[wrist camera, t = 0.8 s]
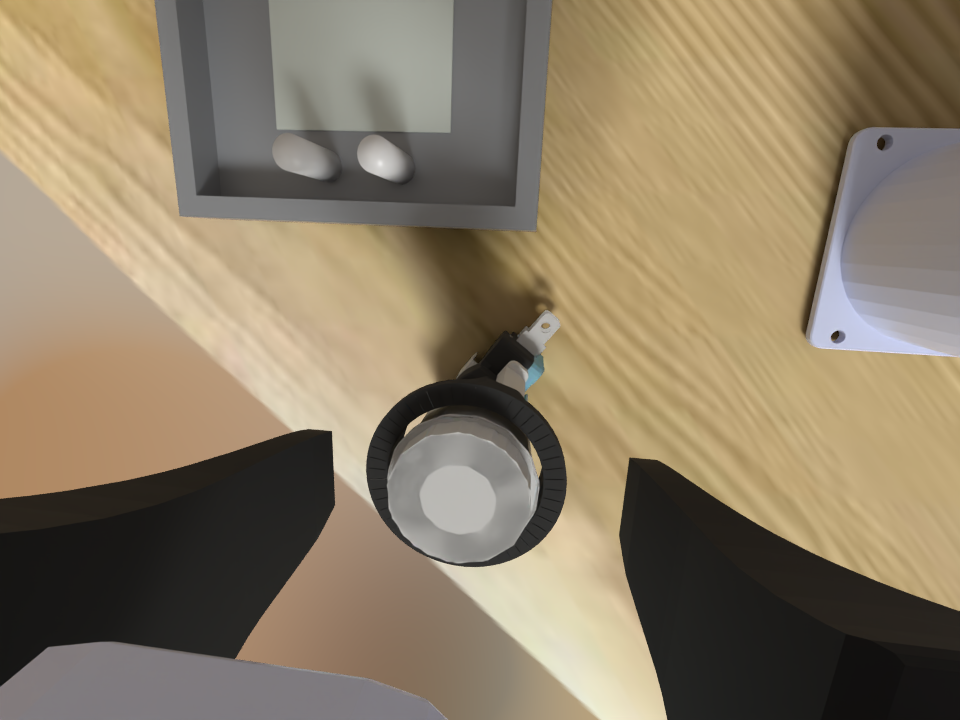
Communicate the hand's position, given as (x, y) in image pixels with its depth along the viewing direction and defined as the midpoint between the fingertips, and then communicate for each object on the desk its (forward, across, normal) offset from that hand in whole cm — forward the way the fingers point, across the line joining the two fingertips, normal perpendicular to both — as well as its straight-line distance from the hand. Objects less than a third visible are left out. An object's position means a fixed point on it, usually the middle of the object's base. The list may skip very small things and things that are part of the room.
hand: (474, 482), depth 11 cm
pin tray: (+10, +6, -14) cm, 18 cm away
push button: (+10, 0, 0) cm, 10 cm away
